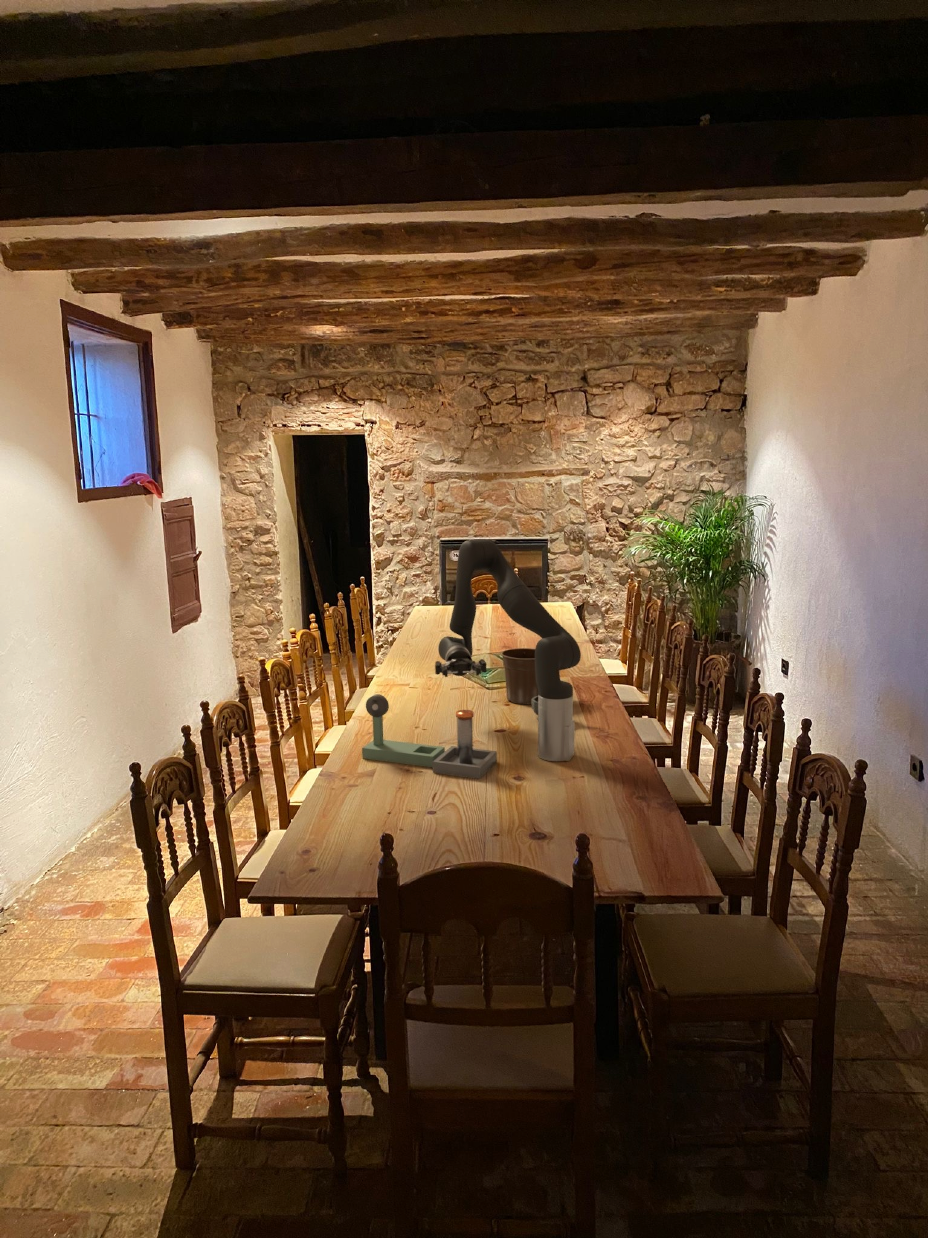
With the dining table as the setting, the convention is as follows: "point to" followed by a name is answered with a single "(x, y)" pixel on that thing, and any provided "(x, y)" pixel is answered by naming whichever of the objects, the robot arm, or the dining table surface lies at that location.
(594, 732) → the dining table surface
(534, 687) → the plant pot
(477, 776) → the pin tray
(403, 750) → the pulley bracket
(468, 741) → the pin
